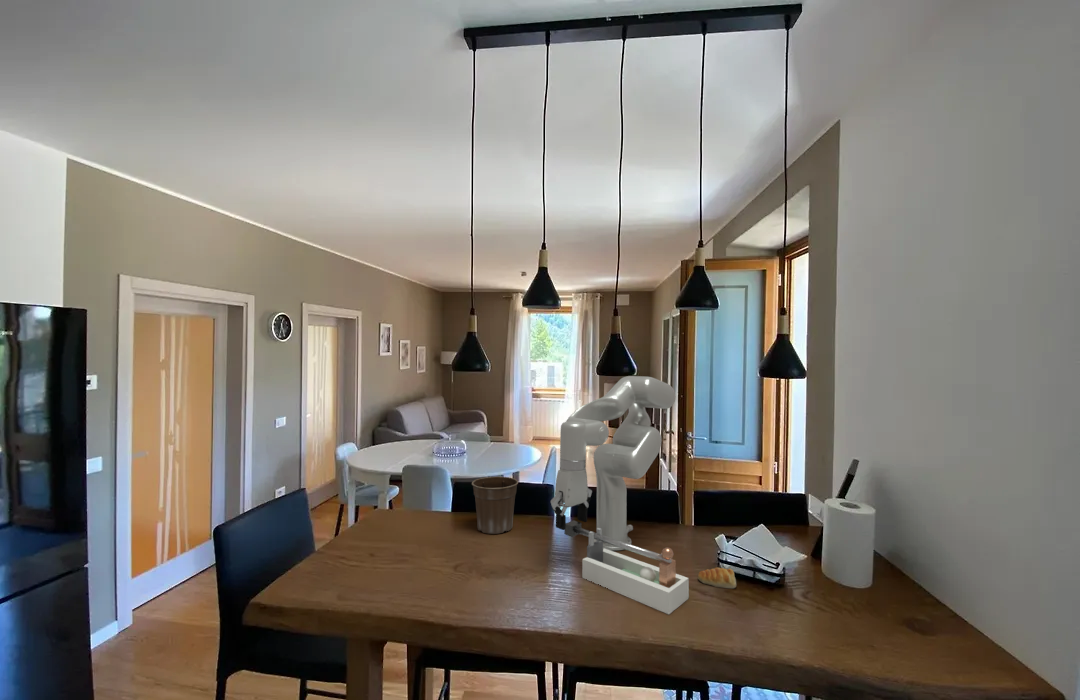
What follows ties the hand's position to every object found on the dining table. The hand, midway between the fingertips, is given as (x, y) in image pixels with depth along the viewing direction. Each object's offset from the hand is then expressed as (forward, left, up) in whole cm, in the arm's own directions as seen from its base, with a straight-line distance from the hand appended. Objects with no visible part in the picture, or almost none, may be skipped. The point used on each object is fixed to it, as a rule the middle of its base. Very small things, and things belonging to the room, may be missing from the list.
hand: (571, 524), depth 132 cm
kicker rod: (-1, +15, -8) cm, 17 cm away
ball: (-1, +24, -9) cm, 26 cm away
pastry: (-19, +35, -12) cm, 42 cm away
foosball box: (-1, +20, -11) cm, 23 cm away
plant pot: (-3, -37, -12) cm, 39 cm away
